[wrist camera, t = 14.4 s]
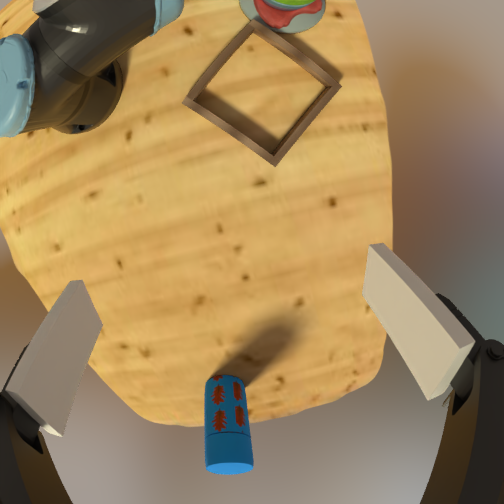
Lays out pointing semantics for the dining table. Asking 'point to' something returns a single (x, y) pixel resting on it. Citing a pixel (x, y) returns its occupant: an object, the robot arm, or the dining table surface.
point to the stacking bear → (284, 10)
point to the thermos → (227, 426)
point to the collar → (292, 53)
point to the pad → (296, 24)
